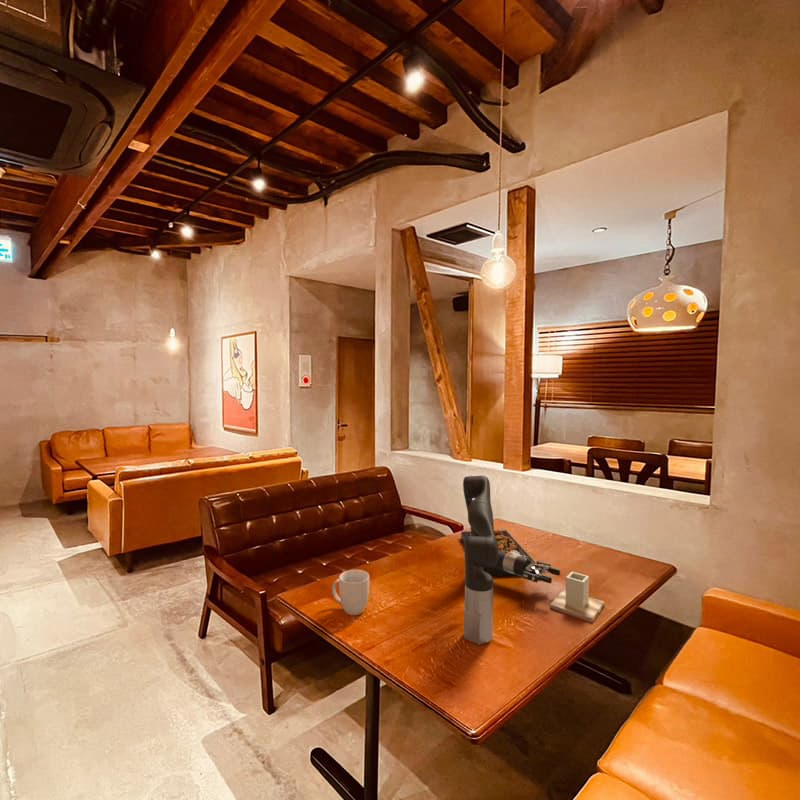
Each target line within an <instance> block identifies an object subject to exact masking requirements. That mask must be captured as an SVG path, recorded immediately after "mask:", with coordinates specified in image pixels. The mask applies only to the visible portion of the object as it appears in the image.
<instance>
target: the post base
mask: <svg viewBox="0 0 800 800" xmlns="http://www.w3.org/2000/svg"><path fill="white" fill-rule="evenodd" d="M565 601H566V588H565V589H563V590H562V591H561V592H560V593H559V595H557V597H555V599H554V600H553V601H551V602H550V604H549V608H550V609H552V610H555V611H558V612H561V613H563V614H566V615H568V616H571V617H574V618H578V619H579V620H580V619H581V620H583V621H587V622H589V623H593V622H594V621H595V619H596V618H597V617H598V615H599V614H600V612H601V611H602V610H603V608H604V607H605V601H604V600H600V599H597V598H594V597H591V596H589V603H588V604H587V605H586V606H585V608H584V609H581V608H578V607H575V606H572V605H569V604H566V603H565Z"/></svg>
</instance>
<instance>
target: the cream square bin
mask: <svg viewBox="0 0 800 800" xmlns="http://www.w3.org/2000/svg"><path fill="white" fill-rule="evenodd" d="M565 590H566V601H565V603H566V604H569V605H572V606H575V607H578V608H581V609H584V608H585V606H586V605H587V604H588V603H589V597H590V596H589V595H590V575H586V574H582V573H578V572H576V571H571V572H569V574H567V576H565Z"/></svg>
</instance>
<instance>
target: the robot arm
mask: <svg viewBox="0 0 800 800" xmlns="http://www.w3.org/2000/svg"><path fill="white" fill-rule="evenodd" d="M462 489H463V497H464V500H465V505H466V506H465V507H466V510H467V521H468V524H469V526H470V531H471V536H468V537H467V538H466V540H465V544H464V545H463V547H464V569H465V570H464V571H465V574H464V610H463V639H464V640H467V641H468V642H471V643H473V644H476V645H479V646H481V645H483V644H487V643H490V642H491V641H492V640H493V638H494V637H493V636H494V577H493V576H491V575H490V574H488V573H486V572H484V571H482V570H480V569H478V567H477V566H480V567H488V568H498V569H501V570H504V571H507V572H509V573H512V574H515V575H518V576H519V577H522V578H523V579H525V580H527V581H530V582H533V583H538V582H544V583H548V584H552V582H553V581H552V580H553V579H552V577H551V576H548V575H545V574H552V575H554V576H561V570H560V569H558V568H555V567H552V564H550V563H547V562H543V561H539V560H536V562H535V563H536V564H533V563H531V562H530V560H529V559H528V558H525V557H521V556H518V555H514V554H508V553H505V552H501V551H498V546H497V541H496V537H495V532H494V531H495V527H494V513H493V508H492V507H493V506H492V503H491V501H492V500H491V484H490V479H489V478H488V477H487V476H486V475H470V476H469V475H468V476H464V478H463V482H462Z"/></svg>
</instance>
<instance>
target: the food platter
mask: <svg viewBox="0 0 800 800" xmlns="http://www.w3.org/2000/svg"><path fill="white" fill-rule="evenodd" d="M494 532H495V537H496V541H497V546H498V551H501V552H505V553H508V554H514V555H518V556H521V557H525V558H528V559H529V560H530V562H531V563H533V564H536V562H535V560H534V559H533V558H532V557H531V556H530V555H529V554H528V553H527V551H525V549H523V547H522V546H521V545H520V544H519V543H518V541H516V540H515V538H514V537H513V536H512V535H511V534H510V533H509V532H508V531H507V529H505V530H504V529H503V530H502V529H501V530H500V529H497V530H496V529H495V530H494ZM468 536H471V530H470V531H469V530H468V531H466V530H465V531H464V530H463V531H461V532H460V540H461V541H462V543H463V545H465V540H466V538H467V537H468ZM476 567H477V568H478V569H480V570H482V571H484V572H486V573H488V574H490V575H491V576H492V577H510V576H511V577H512V576H513V577H514V576H518V575H515V574H512V573H509V572H507V571H504V570H501V569H498V568H488V567H480V566H476Z"/></svg>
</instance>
